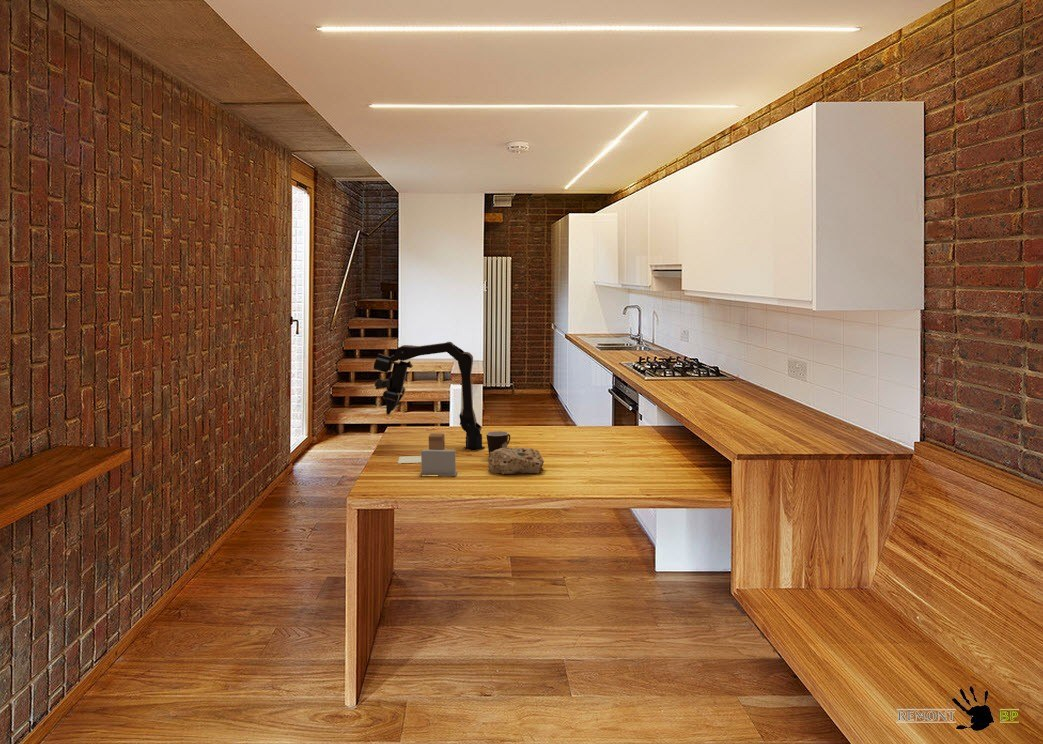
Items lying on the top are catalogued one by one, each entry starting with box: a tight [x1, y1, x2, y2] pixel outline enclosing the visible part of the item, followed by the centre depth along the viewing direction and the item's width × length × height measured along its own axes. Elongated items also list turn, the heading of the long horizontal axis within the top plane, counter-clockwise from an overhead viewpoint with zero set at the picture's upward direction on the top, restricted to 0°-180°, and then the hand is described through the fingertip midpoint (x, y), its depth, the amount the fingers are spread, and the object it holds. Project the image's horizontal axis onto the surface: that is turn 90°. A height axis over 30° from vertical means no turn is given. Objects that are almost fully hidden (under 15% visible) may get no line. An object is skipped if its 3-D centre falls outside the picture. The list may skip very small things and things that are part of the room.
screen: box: [419, 449, 458, 477], centre depth 271 cm, size 13×4×9 cm, turn 86°
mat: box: [397, 455, 421, 465], centre depth 292 cm, size 10×10×1 cm
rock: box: [487, 446, 545, 475], centre depth 276 cm, size 21×14×10 cm
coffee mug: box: [485, 430, 511, 455], centre depth 294 cm, size 12×9×10 cm
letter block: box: [428, 432, 446, 450], centre depth 278 cm, size 5×5×13 cm
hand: (389, 412), depth 309 cm, fingers open, 9 cm apart
